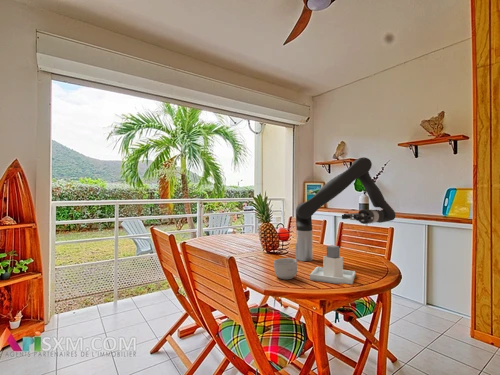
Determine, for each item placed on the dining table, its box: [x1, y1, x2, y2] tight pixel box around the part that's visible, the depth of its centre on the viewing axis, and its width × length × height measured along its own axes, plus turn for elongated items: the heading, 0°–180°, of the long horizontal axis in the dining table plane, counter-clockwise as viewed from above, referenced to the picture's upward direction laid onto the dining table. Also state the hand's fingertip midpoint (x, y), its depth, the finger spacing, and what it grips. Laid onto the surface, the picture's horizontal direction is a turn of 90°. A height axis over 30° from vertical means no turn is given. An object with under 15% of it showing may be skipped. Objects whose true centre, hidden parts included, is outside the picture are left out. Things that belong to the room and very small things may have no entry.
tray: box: [309, 266, 356, 286], centre depth 125 cm, size 18×14×2 cm
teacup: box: [273, 257, 298, 280], centre depth 128 cm, size 14×11×8 cm
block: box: [326, 244, 341, 259], centre depth 125 cm, size 4×4×13 cm
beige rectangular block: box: [322, 255, 344, 278], centre depth 125 cm, size 6×6×9 cm
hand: (349, 217), depth 138 cm, fingers open, 8 cm apart
